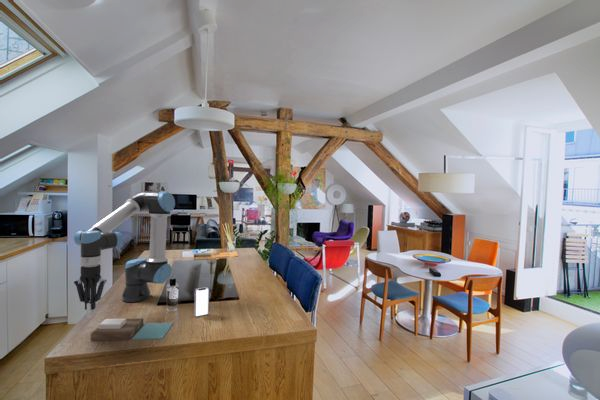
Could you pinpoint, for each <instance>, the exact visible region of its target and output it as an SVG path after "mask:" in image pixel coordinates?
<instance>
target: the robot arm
mask: <svg viewBox="0 0 600 400" xmlns="http://www.w3.org/2000/svg"><path fill="white" fill-rule="evenodd" d="M175 206H176V200H175V197H174V195H173V194H172V193H171V192H169V191H163V190H160V191H159V190H143V191H140V192H138V193H136V194H134V195H132V196H131V197H129V198H128V199H126V200H125V201H124V204H122V205H121V206H120V207H118V208H116V209H115V210H113V211H112V212H110V214H109V213H108V215H107V216H105V217H104V218H102V219H101V220H99V221H98V222H97V223H95V224H94V225H92V226H91V227H89V228H88V229H86V230H85V229H83V230H79V231H77V232H76V233H75V234H74V237H73V240H74V243H75V244H76V245H77V246H80V276H79V278H78V279H76V280H75V281H73V283H74V285H75V286H76V287H75V288H76V290H77V295H78V298H79V302H81V303H84V310H86V318H89V319H90V318H92V317H93V316H94V310H95V309H96V303H97V302H98V301H100V300H101V298H102V293H103V292H104V291H103V290H104V287H105V284H106V283H107V279H103V278H102V276H101V270H102V269H101V265H100V264H101V263H102V261H101V260H102V251H104V250H108V249H115V248H118V247H120V246H122V245H123V243H124V240H125V239H124V235H123V233H121V232H120V231H114V230H115V229H116V228H118V227H119V226H120V225H122V224H123V223H124V222H126V221H127V220H128V219H129V218H131V217H132V216H134V215H137V214H139V213H140V212H143V211H148V215H149V216H150V236H149V253H148V254H149V256H148V258H146V257H142V258H135V259H130V260H128V261H127V262H125V268H124V269H125V270H124V271H125V273H124V274H125V277H124V278H125V287H124V289H123V292H122V294H121V300H122V301H124V302H127V303H135V302H140V301H144V300H148V299H149V298H150V297H151V290H150V288H149V285H148V283H151V284H156V285H157V284H164V283H166V282H167V281H169V278H170V277H171V274H172V270H173V268H172V266H171V265H170V264H169V263H168V262H169V261H168V258H167V257H166V247H167V246H166V244H167V227H168V217H169V216H170V215H171V212H172V211H173V210H174V208H175Z"/></svg>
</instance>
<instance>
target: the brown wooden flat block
mask: <svg viewBox="0 0 600 400" xmlns="http://www.w3.org/2000/svg"><path fill="white" fill-rule="evenodd" d="M125 319H126V323H125V324H124V325H123V326H122V327H121V328H120V329H99V326H98V327H97V328H96V329H95V330H93V331H92V332H91V333H90V341H92V342H93V341H94V342H95V341H129V340H132V338H133V337H134V336H135V335H136V333H137V332H138V331H139V330H140V329H141V328H142V326H143V325H144V318H141V317H140V318H136V317H135V318H132V317H131V318H125Z"/></svg>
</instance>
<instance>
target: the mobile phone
mask: <svg viewBox="0 0 600 400" xmlns="http://www.w3.org/2000/svg"><path fill="white" fill-rule="evenodd" d="M209 312H210V288H209V287H208V286H206V287H199V288H195V290H194V317H195V318H197V317H198V318H200V317H203V316H207V315H209Z"/></svg>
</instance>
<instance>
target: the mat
mask: <svg viewBox="0 0 600 400" xmlns="http://www.w3.org/2000/svg"><path fill="white" fill-rule="evenodd" d="M173 324H174V323H173V322H151V323H150V322H148V323H147V322H146V323H143V325H142V326H141V327H140V328H139V330H138V331H137V332H136V333H135V334H134V335H133V336H132V337H131V341H132V340H135V341H137V340H163V339H164V338H165V336H166V335H167V333H168V331H169V330H170V329H171V328H172V326H173Z"/></svg>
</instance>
